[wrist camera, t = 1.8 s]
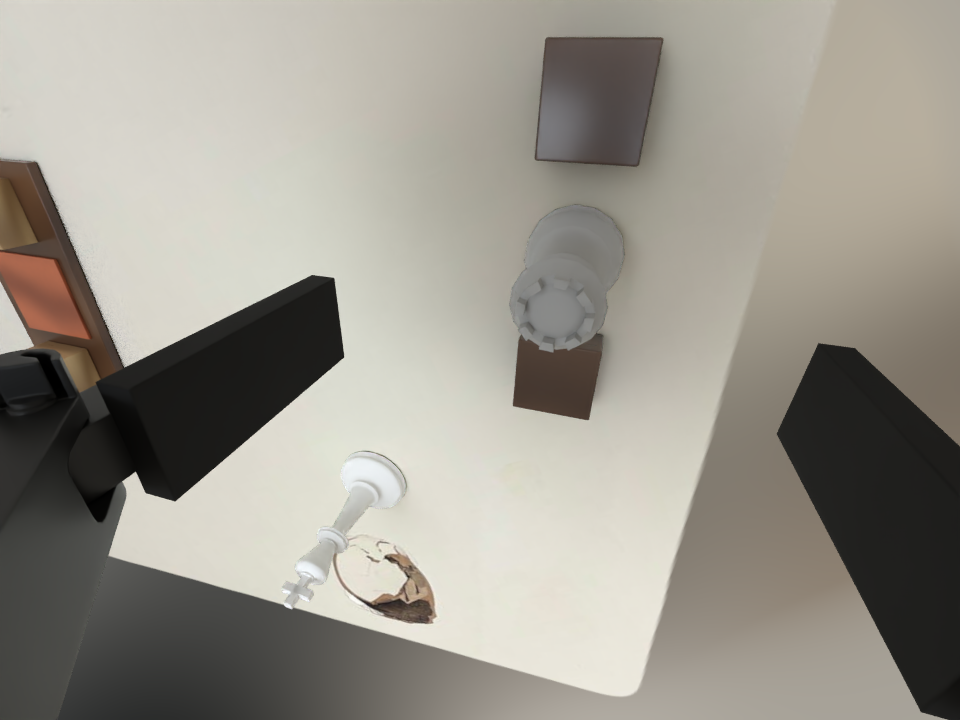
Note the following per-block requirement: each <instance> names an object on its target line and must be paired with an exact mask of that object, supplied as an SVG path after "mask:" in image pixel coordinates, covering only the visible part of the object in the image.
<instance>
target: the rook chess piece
mask: <svg viewBox="0 0 960 720" xmlns="http://www.w3.org/2000/svg"><path fill="white" fill-rule="evenodd" d="M624 255H625V254H624V246H623V239H622V235H621V233H620V232H619V230H618V228H617V227H616V225H615V223H614V222H613V220H612V219H611V218H609V217H608V216H606V215H605V214H603V213H602V212H600V211H599V210H597V209H596V208H592V207H586V206H581V205H571V206H567V207H563V208H559V209H555V210H554V211H552V212H551V213H550V214H548V215H547V216H546V217H544V218H543V219H541V220H540V221H539V222H538V224H537V226H536V227H535V229H534V230H533V232H532V234H531V235H530V237H529V240H528V242H527V248H526V253H525V259H524V261H525V266H526V270H524V271H523V272H522V273H521V274H520V276H519V278H518V279H517V281H516V282H515V284H514V285H513V287H512V291H511V297H510V303H509V306H510V310H511V314H512V318H513V322H514V323H515V324H516V326H517V327H518V330H519V332H520V333H521V334H522V336H523V337H524V339H525V340H526V341H527V340H528V339H530V340H531V341H533V342H534V343H536V344H537V345H539V346H540V347H539V349H540V350H545V351H549V352H553V351H554V349H556V350H559V349H567V350H570V349H572V348H575V347H577V346H579V345H581V344H583V343H584V342H586V341H588V340H590V339H591V338H592V337H593V336H594V335H595V334H596V333H597V331H598V330H599V329H600V328H601V327H602V325H603V322H604V319H605V315H606V312H607V308H608V306H607V299H606V293H607V292H608V290H609V289H610V288H611V287H612V285H613V284H614V283H615V282H616V280H617V279H618V276H619V273H620V269H621V266H622V263H623V259H624Z"/></svg>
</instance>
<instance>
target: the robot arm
mask: <svg viewBox="0 0 960 720" xmlns="http://www.w3.org/2000/svg"><path fill="white" fill-rule="evenodd" d="M343 358H344V351H343V343H342V335H341V327H340V319H339V312H338V304H337V296H336V288H335V280H334V278H330V277H323V276H315V275H311V276H309V277H307V278H305V279H303V280H301V281H299V282H297V283H295V284H293V285H291V286H289V287H287V288H285V289H283V290H281V291H279V292H277V293H275V294H273V295H271V296H269V297H267V298H265V299H263V300H261V301H259V302H257V303H255V304H253V305H251V306H249V307H247V308H245V309H242V310H240V311H238V312H236V313H234V314H232V315H230V316H228V317H226V318H224V319H222V320H220V321H218V322H216V323H214V324H212V325H210V326H208V327H206V328H204V329H202V330H200V331H198V332H196V333H194V334H192V335H190V336H188V337H186V338H184V339H182V340H180V341H178V342H176V343H174V344H172V345H170V346H167V347H165V348H163V349H161V350H159V351H157V352H155V353H153V354H151V355H149V356H147V357H145V358H143V359H141V360H139V361H137V362H135V363H133V364H131V365H129V366H127V367H125V368H123V369H121V370H119V371H117V372H115V373H113V374H111V375H109V376H107V377H105V378H103V379H101V380H99V381H97V382H95V383H96V385H94V386H92V387H90V388H88V389H86V390H84V391H82V392H80V393H79V391H78V389H77V387H76V385H75V383H74V381H73V379H72V377H71V374H70V372H69V370H68V368H67V366H66V364H65V362H64V360H63V358H62V356H61V354H60V353H59V352H57V351H56V350H52V349H44V348H40V349H26V350H20V351H15V352H9V353H5V354H1V355H0V720H57V719H58V716H59V713H60V709H61V706H62V703H63V699H64V696H65V693H66V690H67V686H68V683H69V680H70V677H71V674H72V671H73V667H74V664H75V661H76V658H77V654H78V651H79V648H80V645H81V642H82V638H83V635H84V632H85V628H86V625H87V622H88V619H89V616H90V612H91V609H92V606H93V603H94V600H95V596H96V593H97V590H98V586H99V583H100V580H101V577H102V574H103V570H104V567H105V564H106V561H107V558H108V554H109V551H110V548H111V545H112V542H113V538H114V535H115V532H116V529H117V525H118V522H119V519H120V516H121V512H122V509H123V506H124V503H125V500H126V489H125V486H124V484H123V482H122V481H123V480H125V479H126V478H127V477H129V476H130V475H132V474H133V473H134V472H136V473H137V475H138V477H139V479H140V481H141V484H142V486H143V488H144V490H145V492H146V493H147V494H151V495H154V496H158V497H162V498H165V499H169V500H172V501H176V500H177V499H179V498H180V497H181V496H182V495H183V494H184V493H186V492H187V491H188V490H189V489H190V488H191V487H193V486H194V485H195V484H196V483H197V482H199V481H200V480H201V479H202V478H203V477H204V476H206V475H207V474H208V473H209V472H210V471H211V470H213V469H214V468H215V467H216V466H217V465H218V464H220V463H221V462H222V461H223V460H224V459H225V458H227V457H228V456H229V455H230V454H231V453H233V452H234V451H235V450H236V449H237V448H238V447H240V446H241V445H242V444H243V443H244V442H245V441H247V440H248V439H249V438H250V437H251V436H252V435H254V434H255V433H256V432H257V431H258V430H259V429H261V428H262V427H263V426H264V425H265V424H266V423H268V422H269V421H270V420H271V419H272V418H274V417H275V416H276V415H277V414H278V413H279V412H281V411H282V410H283V409H284V408H285V407H286V406H288V405H289V404H290V403H291V402H292V401H293V400H295V399H296V398H297V397H298V396H299V395H300V394H302V393H303V392H304V391H305V390H306V389H308V388H309V387H310V386H311V385H312V384H313V383H315V382H316V381H317V380H318V379H319V378H320V377H322V376H323V375H324V374H325V373H326V372H327V371H329V370H330V369H331V368H332V367H333V366H334V365H336V364H337V363H338V362H339V361H340V360H342V359H343ZM777 435H778V437H779V439H780V441H781V443H782V445H783V447H784V449H785V451H786V452H787V455H788V456H789V458H790V460H791V462H792V464H793V466H794V468H795V470H796V472H797V474H798V476H799V477H800V480H801V482H802V483H803V485H804V487H805V489H806V491H807V493H808V495H809V497H810V499H811V501H812V503H813V505H814V506H815V509H816V510H817V512H818V514H819V516H820V518H821V520H822V522H823V524H824V525H825V528H826V530H827V532H828V533H829V535H830V537H831V539H832V541H833V543H834V545H835V547H836V549H837V551H838V553H839V555H840V557H841V559H842V561H843V563H844V564H845V566H846V568H847V570H848V572H849V574H850V576H851V578H852V580H853V582H854V584H855V585H856V587H857V590H858V591H859V593H860V595H861V597H862V599H863V601H864V603H865V605H866V607H867V609H868V611H869V613H870V614H871V616H872V618H873V620H874V622H875V624H876V626H877V628H878V630H879V632H880V634H881V636H882V638H883V640H884V642H885V643H886V645H887V647H888V649H889V651H890V653H891V655H892V657H893V659H894V660H895V663H896V664H897V666H898V668H899V670H900V672H901V674H902V676H903V678H904V680H905V682H906V684H907V686H908V688H909V689H910V692H911V694H912V695H913V697H914V699H915V701H916V703H917V705H918V707H919V709H920V711H921V712H923V713H926V714H930V715H933V716H937V717H940V718H944V719H948V720H960V446H959V445H958V444H956V443H955V442H954V441H953V440H952V439H951V438H950V437H949V436H948V435H947V434H946V433H945V432H944V431H943V430H942V429H941V428H939V427H938V426H937V425H936V424H935V423H934V422H933V421H932V420H931V419H930V418H929V417H928V416H927V415H926V414H924V413H923V412H922V411H921V410H920V409H919V408H918V407H917V406H916V405H915V404H914V403H913V402H912V401H911V400H910V399H908V398H907V397H906V396H905V395H904V394H903V393H902V392H901V391H900V390H899V389H898V388H897V387H896V386H895V385H894V384H892V383H891V382H890V381H889V380H888V379H887V378H886V377H885V376H884V375H883V374H882V373H881V372H880V371H878V369H876V368H875V367H874V366H873V365H872V364H871V363H870V362H869V361H868V360H867V359H866V358H865V357H864V356H863V355H861V354H860V353H859V352H858V351H857V350H856V349H855V348H849V347H841V346H835V345H827V344H818V345H817V348H816V350H815V352H814V354H813V356H812V358H811V361H810V363H809V365H808V367H807V369H806V371H805V374H804V376H803V378H802V380H801V383H800V385H799V387H798V389H797V391H796V393H795V395H794V398H793V400H792V402H791V404H790V406H789V409H788V410H787V413H786V415H785V417H784V419H783V421H782V424H781V426H780V428H779V430H778V432H777Z"/></svg>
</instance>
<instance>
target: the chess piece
mask: <svg viewBox="0 0 960 720" xmlns="http://www.w3.org/2000/svg"><path fill="white" fill-rule="evenodd" d="M341 479H342V482H343V485H344V486H345V488H346V490H347V491H348V492H349V493H350V495H349V497H348V499H347V501H346V503H345V505H344V507H343V509H342V511H341V512H340V514H339V516H338V518H337V520H336V521H335V523H334V525H333V527H329V526H324V527H321V528H320V529H319V531H318V534H317V539H318V541H319V543H320V544H319V545H318V546H316V547H315V548H313V549H312V550H311V551H310V552H309V553H307V554H306V555H304V556H303V557H302V558H300V559H299V560H298V561H297V562H296V564H295V570H296V573H297V574H298V576H299V577H300V580H299V581H298V583H297V584H293V583H290V582H288V581H286V582H285V584H284V585H283V586H282V588H281V589H282V593H285V594H288V595H289V596H288V597H287V598H286V600H285V601H284V605H285V607H287V608H290V609H293V607H294V606H295V604H296V603H297V601H298V600H299V599H302V600H304V601H307V602H310V600H311V598H312V597H313V595H314V594H313V590H311V589H308V588H307V586H308V585H309V584H312V585H321V584H323V583H324V582H325V581H326V579H327V577H328V573H329V568H330V565H331V562H332V559H333V555H334V553H342V552H344V551H345V550H346V549H347V548H348V546H349V542H348V539H347V538H346V536H345V535H346V533H347V532H348V531H349V530H350V529H351V527H352V526H353V525H354V524H355V522H356V521H357V520H358V519H359V518H360V517H361V515H362V514H363V513H364V512H365V511H366V510H367V509H368V507H373V508H378V509H386V508H390V507H393V506H394V505H396V504H397V503H398V502H399V500H400V499H401V498H402V497H403V495H404V493H405V490H406V484H405V480H404V477H403V475H402V473H401V472H400V471H399V469H398V468H397V467H396V466H395V465H394V464H393V463H392V462H391V461H389V460H388V459H386V458H385V457H383V456H381V455H378V454H375V453H372V452H357V453H354V454H352V455H350V456H349V457H348V458H347V460H346V461H345V464H344V465H343V467H342V469H341Z"/></svg>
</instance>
